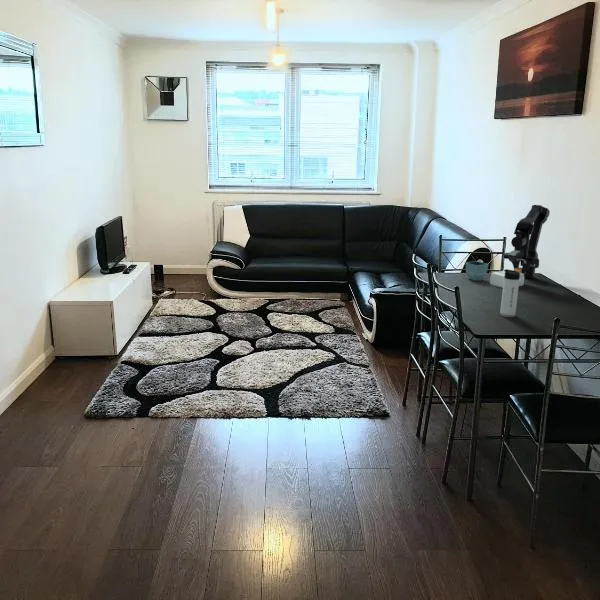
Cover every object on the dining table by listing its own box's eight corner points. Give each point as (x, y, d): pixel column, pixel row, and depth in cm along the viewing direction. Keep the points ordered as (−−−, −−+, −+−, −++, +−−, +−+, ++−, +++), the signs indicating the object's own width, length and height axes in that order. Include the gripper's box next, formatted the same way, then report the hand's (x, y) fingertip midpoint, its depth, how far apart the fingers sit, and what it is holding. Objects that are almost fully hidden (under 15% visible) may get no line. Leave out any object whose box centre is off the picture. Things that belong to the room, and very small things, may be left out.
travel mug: (502, 312, 272) (507, 268, 267) (517, 315, 268) (522, 270, 263) (496, 315, 268) (501, 270, 262) (511, 318, 263) (517, 273, 258)
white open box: (508, 281, 328) (509, 272, 327) (523, 285, 320) (524, 276, 319) (489, 284, 321) (490, 274, 320) (504, 288, 313) (505, 279, 312)
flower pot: (463, 278, 333) (465, 262, 330) (476, 277, 336) (477, 261, 334) (474, 282, 325) (476, 265, 323) (487, 280, 329) (489, 264, 326)
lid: (515, 270, 329) (515, 266, 328) (529, 274, 321) (530, 269, 320) (491, 274, 320) (491, 270, 319) (505, 278, 312) (506, 274, 311)
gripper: (498, 243, 323) (494, 272, 327) (527, 249, 308) (523, 279, 312) (512, 241, 329) (509, 270, 333) (541, 247, 313) (537, 277, 318)
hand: (519, 274), depth 324 cm, fingers closed on lid, 4 cm apart
